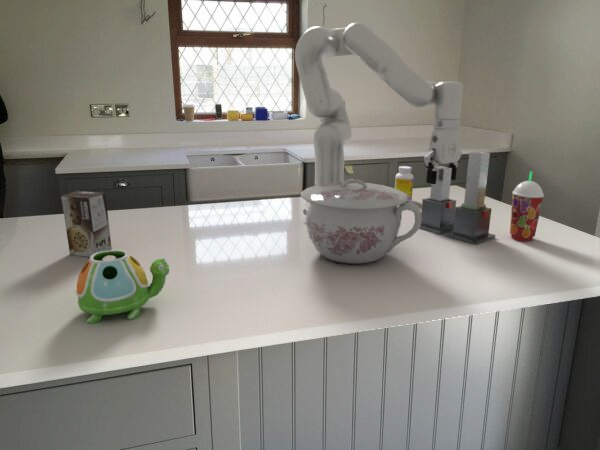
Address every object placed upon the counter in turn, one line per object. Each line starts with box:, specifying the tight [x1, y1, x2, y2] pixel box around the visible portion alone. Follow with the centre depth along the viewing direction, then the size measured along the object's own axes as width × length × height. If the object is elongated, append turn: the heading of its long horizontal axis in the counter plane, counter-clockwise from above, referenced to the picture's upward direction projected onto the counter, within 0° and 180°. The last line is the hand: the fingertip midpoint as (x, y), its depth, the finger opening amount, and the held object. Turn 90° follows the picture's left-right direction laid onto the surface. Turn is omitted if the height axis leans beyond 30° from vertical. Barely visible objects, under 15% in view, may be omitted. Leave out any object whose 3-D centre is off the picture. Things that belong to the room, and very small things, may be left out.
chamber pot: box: [300, 178, 422, 265], centre depth 130 cm, size 28×28×21 cm
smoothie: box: [509, 171, 545, 242], centre depth 145 cm, size 8×8×20 cm
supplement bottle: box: [394, 165, 414, 203], centre depth 189 cm, size 7×7×13 cm
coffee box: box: [61, 190, 113, 258], centre depth 131 cm, size 9×6×16 cm
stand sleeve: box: [419, 197, 457, 235], centre depth 156 cm, size 10×10×9 cm
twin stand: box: [445, 150, 496, 245], centre depth 145 cm, size 10×10×25 cm
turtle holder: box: [75, 249, 170, 324], centre depth 101 cm, size 12×18×12 cm
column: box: [429, 165, 452, 203], centre depth 155 cm, size 5×5×18 cm
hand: (441, 181), depth 153 cm, fingers open, 9 cm apart
